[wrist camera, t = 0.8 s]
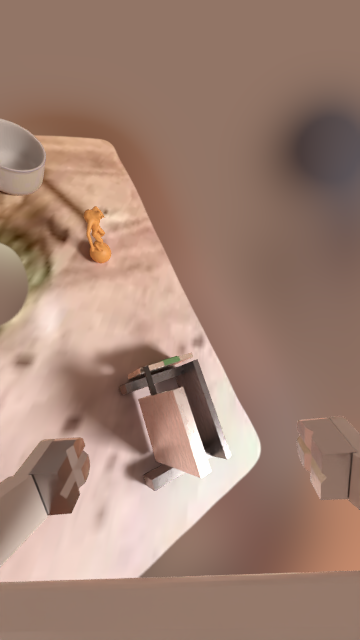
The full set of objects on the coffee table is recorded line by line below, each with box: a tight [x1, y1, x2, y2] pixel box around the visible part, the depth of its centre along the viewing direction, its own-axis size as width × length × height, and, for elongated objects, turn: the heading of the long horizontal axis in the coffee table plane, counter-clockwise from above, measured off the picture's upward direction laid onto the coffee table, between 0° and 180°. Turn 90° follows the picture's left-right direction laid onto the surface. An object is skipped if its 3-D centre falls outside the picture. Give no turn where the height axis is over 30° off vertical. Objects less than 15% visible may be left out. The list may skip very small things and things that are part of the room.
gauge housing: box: [119, 353, 231, 491], centre depth 41 cm, size 18×12×8 cm
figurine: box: [84, 206, 111, 263], centre depth 44 cm, size 8×6×12 cm
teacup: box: [0, 119, 46, 195], centre depth 43 cm, size 14×11×8 cm
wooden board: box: [138, 366, 211, 478], centre depth 35 cm, size 14×2×14 cm, turn 21°
